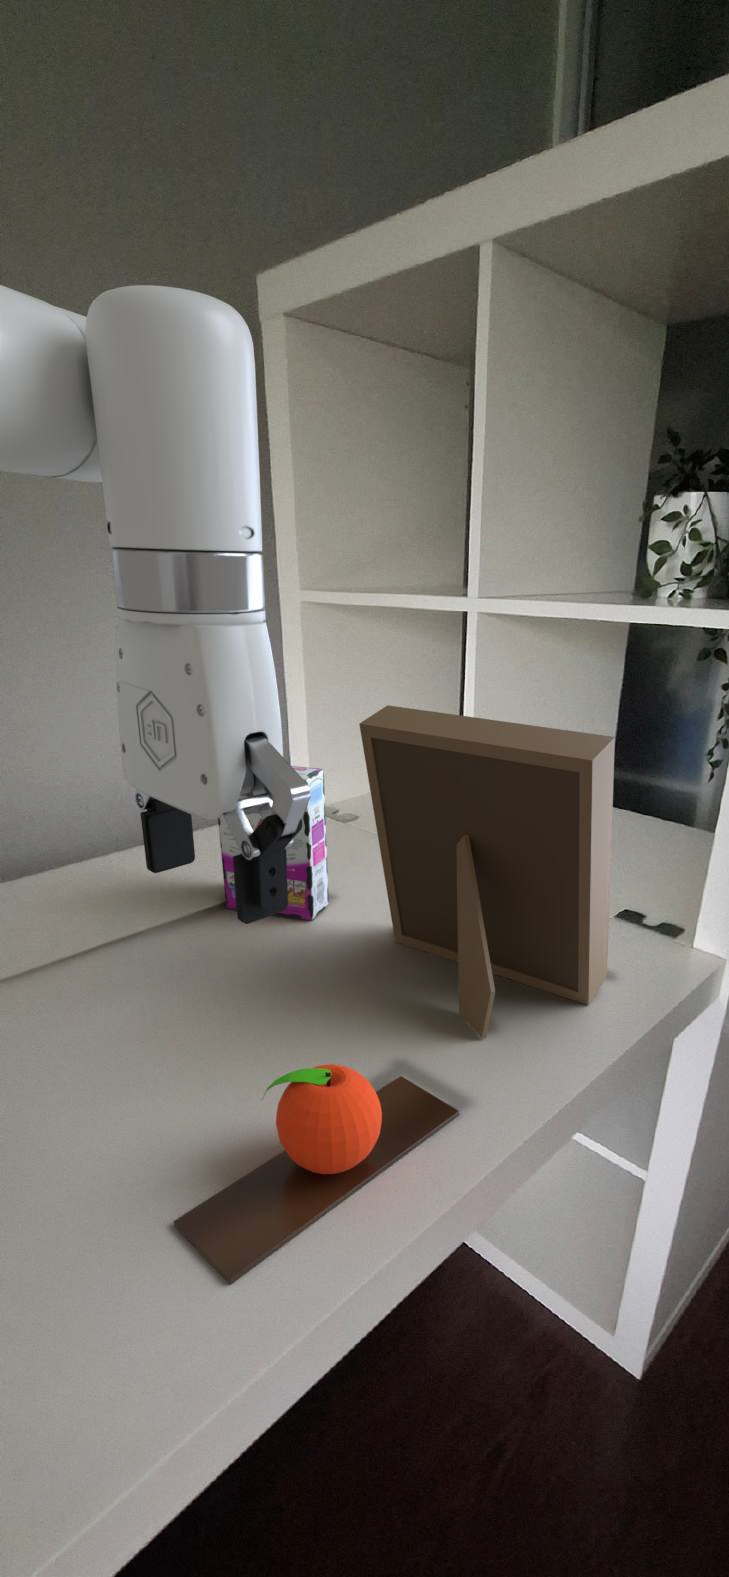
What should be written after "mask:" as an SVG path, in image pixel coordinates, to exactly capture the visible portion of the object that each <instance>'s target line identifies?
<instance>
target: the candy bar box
mask: <svg viewBox="0 0 729 1577" xmlns="http://www.w3.org/2000/svg"><path fill="white" fill-rule="evenodd" d="M291 767H292V768H293V769H294V770H295V771H296V772H297V773H298V774H299V775H300V776H301V778H302V779H303V780H304V781H305V782H306V783H307V784H308V786H309V787H310V790H311V797H310V800H309V803H308V805H307V808H306V811H305V813H304V816H303V819H302V829H301V830H300V832H299V833H298V834H297V835H296V836H295V837H294V838H293V846H292V847H291V848H288V849H286V856H287V883H288V906H287V908H286V909H285V910H284V911H282V912H279V913H276V914H273V915H272V916H278V917H285V918H293V919H299V920H306V921H314V920H315V919H316V918H317V917H318V916H319V915H320V914H321V913H322V912H323V911H324V910H326V909H327V907H328V906H329V904H330V899H329V898H330V897H329V896H330V895H329V877H328V876H329V875H328V874H329V872H328V850H327V849H328V847H327V846H328V845H327V825H326V824H327V822H326V803H325V802H326V798H325V797H326V796H325V773H324V772H325V770H324V768H319V767H307V766H298V765H291ZM239 799H243V798H242V797H240V796H239V798H238V800H239ZM246 817H247V819H248V821H249V823H250V825H251V828H252V830H253V832H254V831H255V830H256V829H257V827H258V826H259V825H260V824H261V822H262V821H263V819H262V817H261V815H260V813H259V812H256V813H252V814H248V815H246ZM217 823H218V824H217V825H218V834H219V845H220V856H221V866H222V876H223V877H222V878H223V886H224V888H223V889H224V900H225V907H226V909H230V910H236V896H235V881H234V866H233V856H236V855H239V854H241V852H240V850H239V848H238V845H237V843H236V841H235V839H234V837H233V835H232V833H231V831H230V829H229V827H228V825H227V822H226V820H225V818H224V816H223V815H222V816H221V817H220V818H218V819H217Z"/></svg>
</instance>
